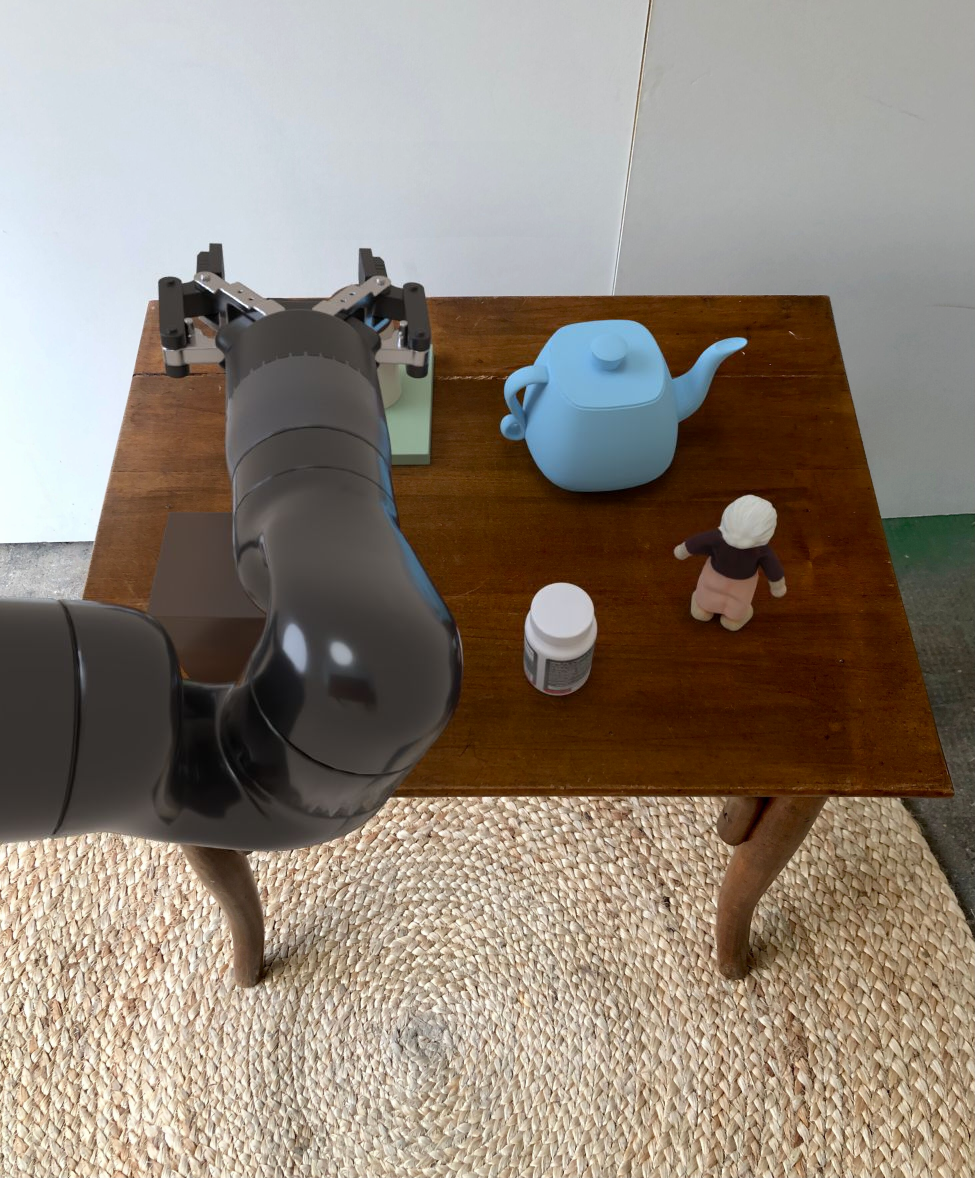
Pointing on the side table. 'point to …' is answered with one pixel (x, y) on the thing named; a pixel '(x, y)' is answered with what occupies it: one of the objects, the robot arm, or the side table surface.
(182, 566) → the stand
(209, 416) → the side table surface
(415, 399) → the scale
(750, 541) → the grandmother figurine
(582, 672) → the pill bottle
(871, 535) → the side table surface
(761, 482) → the side table surface
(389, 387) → the spice jar
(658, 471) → the teapot
